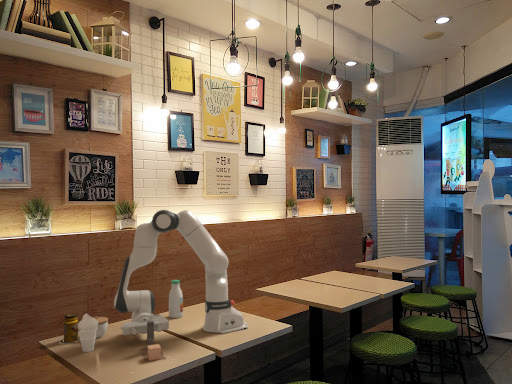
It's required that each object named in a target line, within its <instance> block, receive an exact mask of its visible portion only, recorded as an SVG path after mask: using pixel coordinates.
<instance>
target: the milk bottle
mask: <svg viewBox="0 0 512 384" xmlns="http://www.w3.org/2000/svg"><path fill="white" fill-rule="evenodd" d="M180 282H181V280H180V279H173V280H171V281H170V283H171V284H170V285H171V289H170V291H169V294H168V317H169V318H171V319H178V318H182V317H183V316H184V297H183V291H182V289H181V283H180Z"/></svg>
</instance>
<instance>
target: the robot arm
mask: <svg viewBox="0 0 512 384" xmlns="http://www.w3.org/2000/svg"><path fill="white" fill-rule="evenodd" d="M174 230H176V231H178V232H179V233H180V235H181V236H182V237H183V238H184V239H185V241H186V242H187V243H188V245H189V246H190V247H191V248H192V250H193V251H194V253H195V254H196V255H197V257H198V258H199V259H200V261H201V262H202V263H203V265H204V276H205V300H204V312H205V315H204V317H205V318H204V322H203V323H204V324H203V328H202V330H203V331H205V332H209V333H219V334H227V333H231V332H237V331H240V330H241V329H242V330H245V329H244V328H246V329H249V323H247V322H246V321H244V316H243V314H242V313H241V312H240V311H239V310H237V308H235V307H233V306H234V305H235V304H236V302H235V301H234V300H232V299H229V286H228V285H229V283H228V271H227V270H228V268H229V263H230V261H229V258H228V255H227V254H226V253H225V252H224V251H223V249H222V248H221V247H220V245H219V244H218V242H217V241H216V240H215V239H214V238H213V236H212V235H211V234H210V232H209V231H208V230H207V229H206V228H205V226H204V225H203V223H202V222H201V221H200V220H199V218H197V216H195V215H194V213H192V212H191V211H190V210H188V209H187V210H185V209H184V210H180V211H179V212H178V213H174V212H172V211H170V210H168V209H160V210H157V212H155V213H154V214H153V216H152V220H151V221H150V222H147V223H145V222H144V223H141V224H139V225H138V226H136V229H135V234H134V239H133V246H132V247H133V248H132V252H131V254H130V255H129V256H127V257H126V258H125V260H124V263H123V267H122V271H121V275H120V280H119V283H118V286H117V292H116V294H115V297H114V299H113V306H114V309H115V310H116V311H117V312H119V313H120V314H124V313H130V312H132V313H131V322H125V323H123V324H122V325H121V326H120V330H122V335H123V336H129V335H134V336H138V335H140V334H141V335H145V334H146V335H147V321H153V322H154V332H157V333H161V332H162V331H166V330H169V329H170V323H169V319H167V318H166V317H164V316H163V314H159V313H157V314H156V313H155V314H154V311H155V309H156V308H155V307H156V299H155V294H154V293H153V292H152V291H151V290H149V289H144V290H142V289H141V290H128V286H129V283H130V277H131V275H132V273H133V272H134V271H135V270H137V269H140V268H141V267H146V266H147V265H149V264H151V263H152V262H153V261H154V260H155V258H156V257H157V251H158V237H159V235H160V234H162V233H169V232H170V231H174ZM242 330H241V331H242Z"/></svg>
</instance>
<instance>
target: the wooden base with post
mask: <svg viewBox="0 0 512 384" xmlns="http://www.w3.org/2000/svg"><path fill="white" fill-rule="evenodd" d="M148 345H155V331H154V322H153V321H147V333H146V346H147V347H141V348H139V351H140V354H141V356H142V358H143V360H144V363H149V362H154V361H161V360H167V359H166V356H165V355H164V353H163V351H162V350H161V359H157V360H151V361H149V359H148Z"/></svg>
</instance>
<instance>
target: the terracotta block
mask: <svg viewBox="0 0 512 384" xmlns="http://www.w3.org/2000/svg"><path fill="white" fill-rule="evenodd" d="M161 351H162V347H161V345H160V344H159V343H154V345H148V359H149V361H150V362H152V361H151V360H156V361H158V360H157V359H161Z"/></svg>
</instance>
